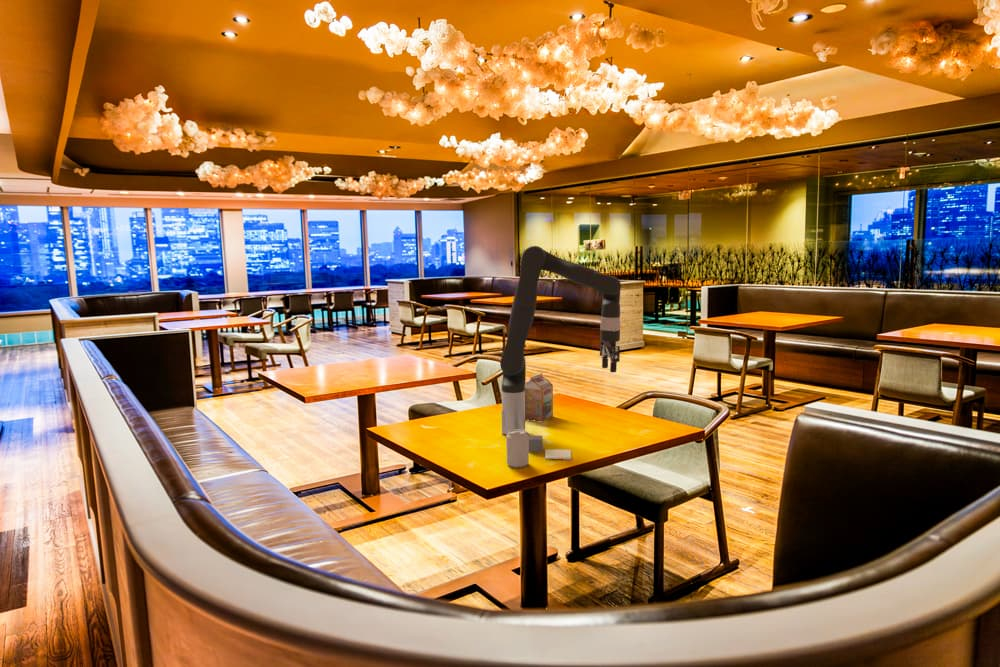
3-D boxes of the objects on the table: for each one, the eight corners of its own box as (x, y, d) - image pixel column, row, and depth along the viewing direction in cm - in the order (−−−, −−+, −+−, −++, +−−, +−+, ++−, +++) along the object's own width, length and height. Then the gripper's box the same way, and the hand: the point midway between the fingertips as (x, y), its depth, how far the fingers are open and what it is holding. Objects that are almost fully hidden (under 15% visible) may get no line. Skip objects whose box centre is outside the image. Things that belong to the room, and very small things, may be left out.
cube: (528, 452, 234) (528, 439, 233) (529, 448, 239) (528, 435, 238) (542, 452, 234) (542, 439, 233) (542, 448, 239) (542, 435, 238)
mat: (545, 459, 226) (545, 457, 226) (545, 451, 235) (545, 449, 235) (571, 459, 225) (571, 457, 225) (570, 451, 234) (570, 449, 234)
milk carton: (541, 422, 275) (541, 378, 272) (520, 418, 280) (519, 376, 278) (553, 416, 284) (552, 374, 281) (532, 413, 289) (531, 371, 287)
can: (503, 467, 219) (503, 432, 217) (511, 460, 226) (510, 427, 224) (524, 469, 216) (524, 434, 215) (531, 462, 223) (531, 428, 222)
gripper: (594, 326, 254) (593, 367, 256) (608, 331, 240) (606, 374, 242) (612, 326, 255) (611, 366, 258) (626, 330, 242) (625, 373, 244)
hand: (609, 370), depth 250 cm, fingers open, 8 cm apart
